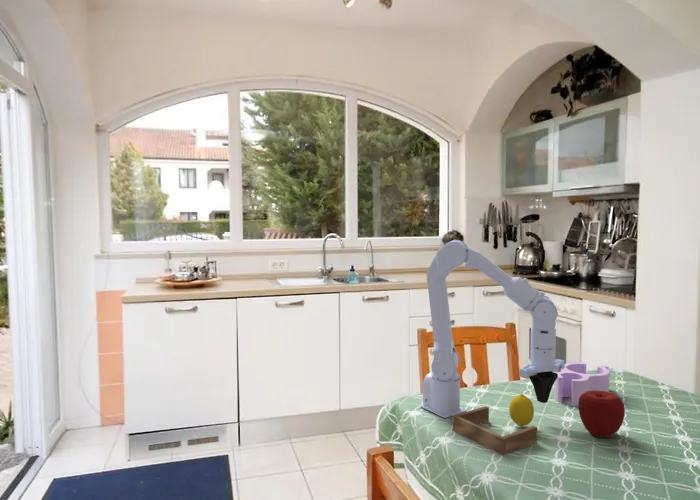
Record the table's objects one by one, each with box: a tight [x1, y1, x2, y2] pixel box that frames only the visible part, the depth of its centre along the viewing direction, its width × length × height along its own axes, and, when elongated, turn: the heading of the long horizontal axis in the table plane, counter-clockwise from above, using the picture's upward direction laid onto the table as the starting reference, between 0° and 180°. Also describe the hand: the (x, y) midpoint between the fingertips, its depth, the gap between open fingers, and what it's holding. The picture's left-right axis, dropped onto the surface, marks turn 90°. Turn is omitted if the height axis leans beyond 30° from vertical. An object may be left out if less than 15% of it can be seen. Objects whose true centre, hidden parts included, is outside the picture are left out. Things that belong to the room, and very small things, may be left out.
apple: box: [577, 390, 626, 438], centre depth 117 cm, size 10×10×10 cm
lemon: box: [508, 393, 535, 428], centre depth 121 cm, size 6×6×8 cm
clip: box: [554, 360, 611, 407], centre depth 143 cm, size 20×12×7 cm, turn 134°
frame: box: [452, 405, 538, 456], centre depth 116 cm, size 15×11×4 cm
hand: (542, 401), depth 125 cm, fingers closed
